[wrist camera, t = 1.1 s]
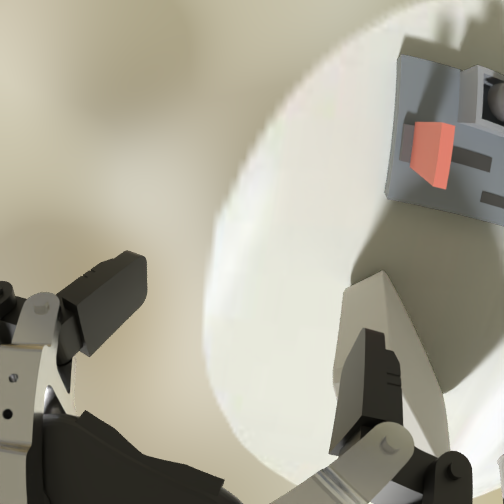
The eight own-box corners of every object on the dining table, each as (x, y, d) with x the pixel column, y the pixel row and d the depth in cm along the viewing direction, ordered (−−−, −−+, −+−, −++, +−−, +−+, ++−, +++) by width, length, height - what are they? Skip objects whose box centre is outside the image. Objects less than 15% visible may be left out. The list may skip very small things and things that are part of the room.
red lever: (431, 126, 23) (467, 129, 15) (426, 169, 25) (458, 192, 17) (403, 119, 24) (428, 118, 16) (398, 163, 26) (419, 183, 18)
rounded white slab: (328, 289, 38) (302, 400, 22) (381, 262, 34) (392, 372, 19) (403, 411, 42) (400, 502, 27) (444, 396, 39) (452, 489, 23)
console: (548, 113, 19) (585, 117, 12) (530, 228, 25) (560, 255, 18) (397, 59, 24) (410, 41, 17) (384, 192, 31) (393, 213, 24)
